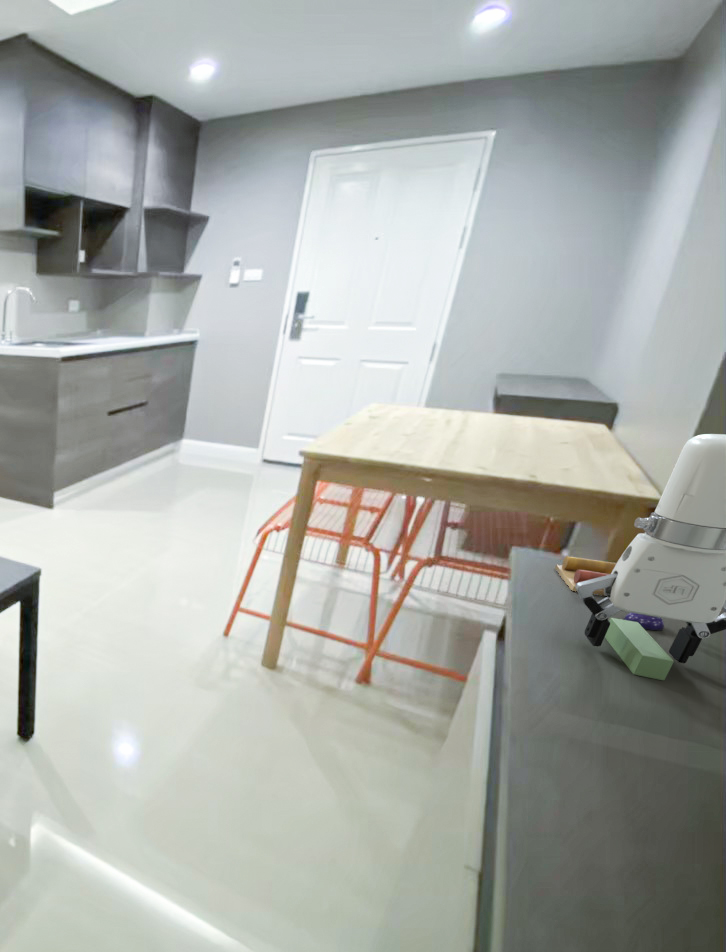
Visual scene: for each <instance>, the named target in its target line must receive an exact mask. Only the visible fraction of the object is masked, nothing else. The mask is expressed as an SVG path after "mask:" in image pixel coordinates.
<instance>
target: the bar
mask: <svg viewBox="0 0 726 952" xmlns="http://www.w3.org/2000/svg"><path fill="white" fill-rule="evenodd" d="M608 621H609V622H610V626H609V628H608V631H607V633H606V635H605V637H604V639H605V640H606V641H607V642H608V644H609V645H610V646H611V647H612V649H613V650H614V652H615V653H616V654H617V655H618V657H619V658H620V660H622V662H623V663H624V664H625V665H626V667H627V668H628V669H629V671H630V673H632V675H633V676H634V675H635V676H639V677H645V678H650V679H654V680H659V681H666V679H667V676H668V674H669V672H670V671H671V668H672V666H673V664H674V660H673V658H672V656H670V655H669V654H668V653H667V652H666V651H665V650H664V649H663V647H662V646H661V645H660V644H658V643H659V642H657V641H656V640H655V638H653V637H652V635H651V634H649V633H648V632H647V629H644V628H643V627H642V626H641V625H640V624H639V623H638V622H634V621H628V620H624V619H622V618H615V617H609V619H608Z"/></svg>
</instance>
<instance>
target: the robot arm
mask: <svg viewBox="0 0 726 952" xmlns="http://www.w3.org/2000/svg"><path fill="white" fill-rule="evenodd" d="M633 526H634V528H637V529H641V530H643V531H644V533H641V532H640V533H637V535H636V536H635V537H634V538H633V539H632V541H631V542H630V543H629V544H628V545H627V547H626V549H625V550H624V551H623V553H622V554H621V556H620V557H619V559H618V560H617V562H616V563H617V564H616V566H615V567H614V569H613V571H612V573H611V574H610V575H606V576H602V577H598V578H594V579H590V580H586V581H583V582H579V583H576V585H575V587H576V589H577V591H578V592H577V593H578V596H579V597H580V600H581V601H582V603H583V604H584V605H585V606H586V608H587V609H588V610H589V611H590V613H591V615H590V618H589V620H588V623H587V624H586V627H585V629H584V635H585V637H586V638H587V640H588V642H589V643H590V644H591V646H593V647H596V648H597V647H601V646H602V644H603V642H604V639H605V635H606V633H607V631H608V628H609V626H610V622H609V619H610V618H612V617H613V616H615V615H616V614H618V613H620V612H622V611H624V612H626V613H631V612H632V613H637V614H643V615H649V616H654V617H660V618H661V619H667V620H673V621H679V622H684V623H686V627H683V626H682V627H681V628H679V630H678V631H677V633H676V635H675V637H674V640H673V641H672V643H671V646H670V648H669V650H668V653H669V654H670V655H671V657H673V659H674V660H675V661H676V662H678V663H680V664H686V663H687V661H688V660H689V658H690V657H693V656H694V655H695V654H696V651H697V650H698V648H699V646H700V643H701V642H702V640H703V639H708V638H710V637H711V635H713V634H716V633H720V632H722V631H724V630H726V434H723V433H704V434H698V435H695V436H692V437H691V438H690V439H688V440H687V441H686V442H685V444H684V445H683V448H682V449H681V451H680V453H679V456H678V458H677V461H676V462H675V465H674V467H673V470H672V471H671V474H670V476H669V478H668V481H667V483H666V485H665V488H664V489H663V492H662V494H661V497H660V499H659V501H658V503H657V505H656V508H655V510H654V512H651V513H650V515H649V517H636V519H635V520H634V523H633ZM603 588H604V595H605V596H607V597H604V598H602V599H600V600H599V601H596V599H595V597H594V595H593V594H592V593H593V592H594V591H595V590H599V589H603ZM723 609H724V611H723V612H722V610H723ZM721 612H722V613H721Z"/></svg>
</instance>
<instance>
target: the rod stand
mask: <svg viewBox="0 0 726 952" xmlns="http://www.w3.org/2000/svg"><path fill="white" fill-rule="evenodd" d="M616 564H617V562H610V561H604V560H597V559H590V558H585V557H584V558H583V557H576V556H569V555H567V556H564V558H563V560H562V564H555V566H554V570H555V569H556V570H557V571H558V573H559V574H558V573H557V574H558V576H559V577H560V576H561V577H560V578H561V579H562V581H563V580H564V581H565V582H564V581H563V582H564V583H565V584H566V586H567V585H568V586H569V587H568V586H567V587H568V589H569V590H570V591H571V590H572V591H571V592H573V591H575V592H576V591H577V589H576V587H575V585H576V583H579V582H583V581H586V580H590V579H594V578H598V577H602V576H606V575H610V574H611V573H612V571H613V569H614V567H615V566H616ZM556 570H555V571H556ZM575 592H574V593H575ZM576 593H578V591H577V592H576ZM593 594H598V595H604V588H603V589H599V590H595V591H594V592H593ZM598 595H597V596H598Z"/></svg>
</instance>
